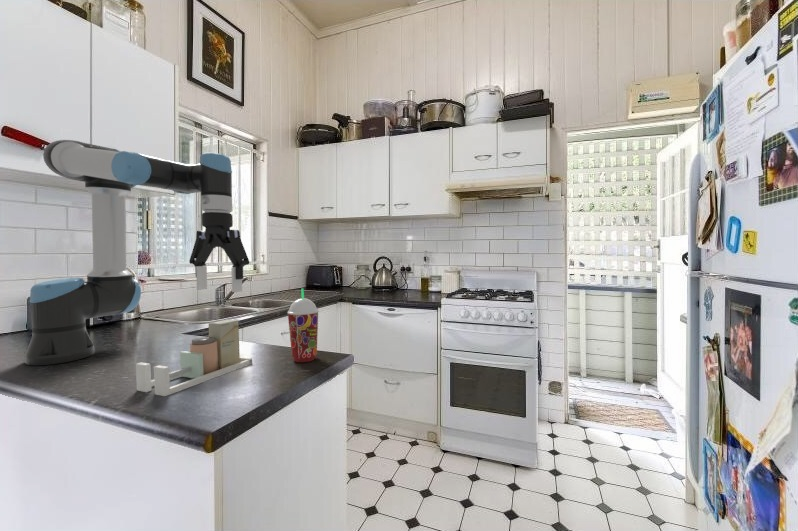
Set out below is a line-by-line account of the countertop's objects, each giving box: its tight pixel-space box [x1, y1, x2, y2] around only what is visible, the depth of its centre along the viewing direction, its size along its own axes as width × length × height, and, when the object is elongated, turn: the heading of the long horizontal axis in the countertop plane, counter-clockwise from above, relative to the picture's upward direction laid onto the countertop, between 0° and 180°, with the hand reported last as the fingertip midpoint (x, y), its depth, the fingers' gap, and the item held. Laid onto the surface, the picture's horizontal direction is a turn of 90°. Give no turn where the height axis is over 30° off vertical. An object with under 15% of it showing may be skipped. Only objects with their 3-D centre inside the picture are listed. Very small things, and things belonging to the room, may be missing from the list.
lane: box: [135, 356, 253, 397], centre depth 91 cm, size 10×24×6 cm, turn 156°
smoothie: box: [287, 288, 319, 363], centre depth 102 cm, size 8×8×20 cm
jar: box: [189, 336, 218, 375], centre depth 92 cm, size 6×6×9 cm
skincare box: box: [208, 319, 241, 370], centre depth 98 cm, size 6×4×12 cm
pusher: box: [169, 350, 204, 379], centre depth 85 cm, size 7×9×6 cm
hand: (219, 290), depth 101 cm, fingers open, 13 cm apart
